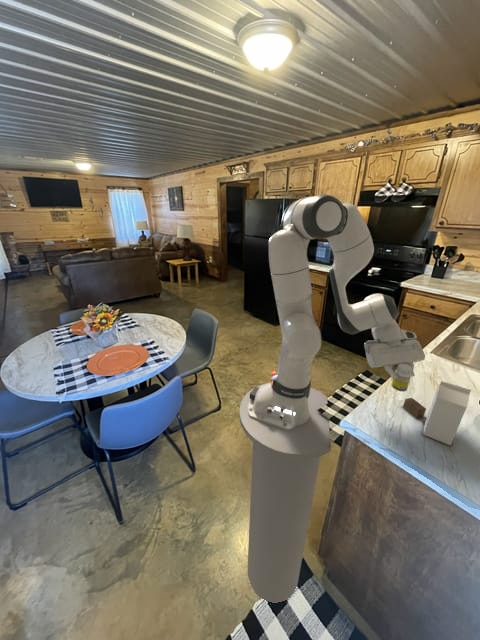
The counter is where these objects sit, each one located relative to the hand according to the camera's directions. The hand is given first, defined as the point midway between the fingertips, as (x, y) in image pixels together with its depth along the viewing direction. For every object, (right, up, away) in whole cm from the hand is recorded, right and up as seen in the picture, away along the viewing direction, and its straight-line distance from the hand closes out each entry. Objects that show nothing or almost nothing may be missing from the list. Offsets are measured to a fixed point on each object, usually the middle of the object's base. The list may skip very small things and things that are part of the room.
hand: (403, 377), depth 86 cm
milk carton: (+10, -18, -1) cm, 21 cm away
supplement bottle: (0, -4, +2) cm, 5 cm away
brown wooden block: (+8, -14, +8) cm, 19 cm away
